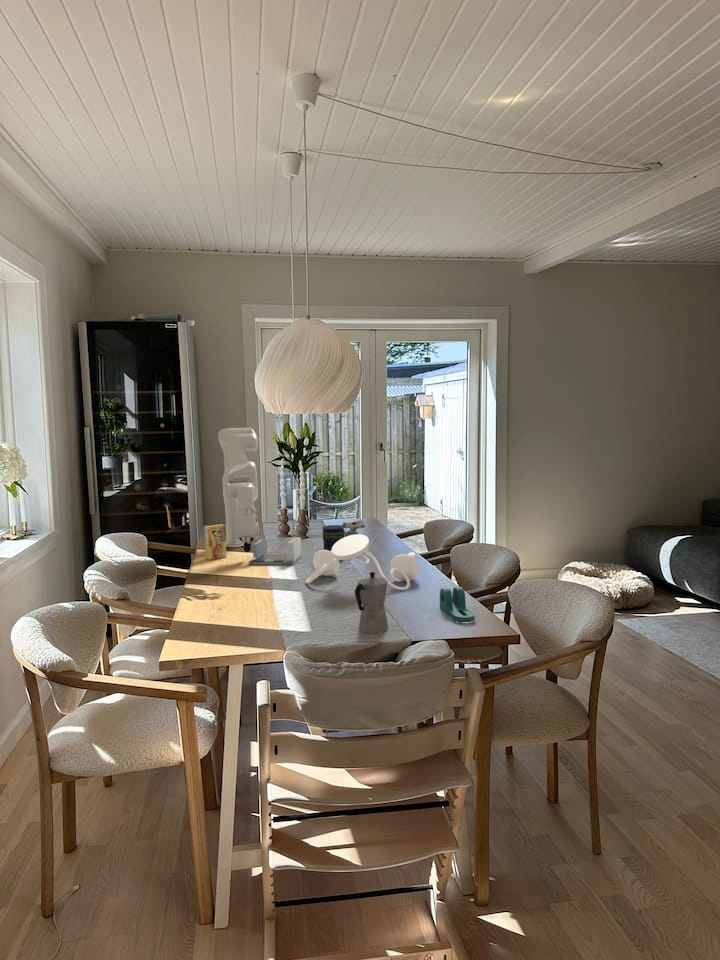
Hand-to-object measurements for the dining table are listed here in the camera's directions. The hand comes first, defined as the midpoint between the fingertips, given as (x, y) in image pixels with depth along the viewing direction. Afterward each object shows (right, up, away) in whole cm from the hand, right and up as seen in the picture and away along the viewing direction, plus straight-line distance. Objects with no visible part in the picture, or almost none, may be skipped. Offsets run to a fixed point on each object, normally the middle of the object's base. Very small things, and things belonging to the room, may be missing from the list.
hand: (247, 551), depth 312 cm
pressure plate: (+5, -2, -2) cm, 6 cm away
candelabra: (+51, -8, -43) cm, 67 cm away
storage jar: (+40, -4, -1) cm, 40 cm away
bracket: (+84, -12, -88) cm, 122 cm away
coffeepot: (+55, -14, -101) cm, 115 cm away
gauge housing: (+13, -4, -1) cm, 14 cm away
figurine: (+49, -2, +15) cm, 51 cm away
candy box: (-16, -4, +7) cm, 18 cm away
